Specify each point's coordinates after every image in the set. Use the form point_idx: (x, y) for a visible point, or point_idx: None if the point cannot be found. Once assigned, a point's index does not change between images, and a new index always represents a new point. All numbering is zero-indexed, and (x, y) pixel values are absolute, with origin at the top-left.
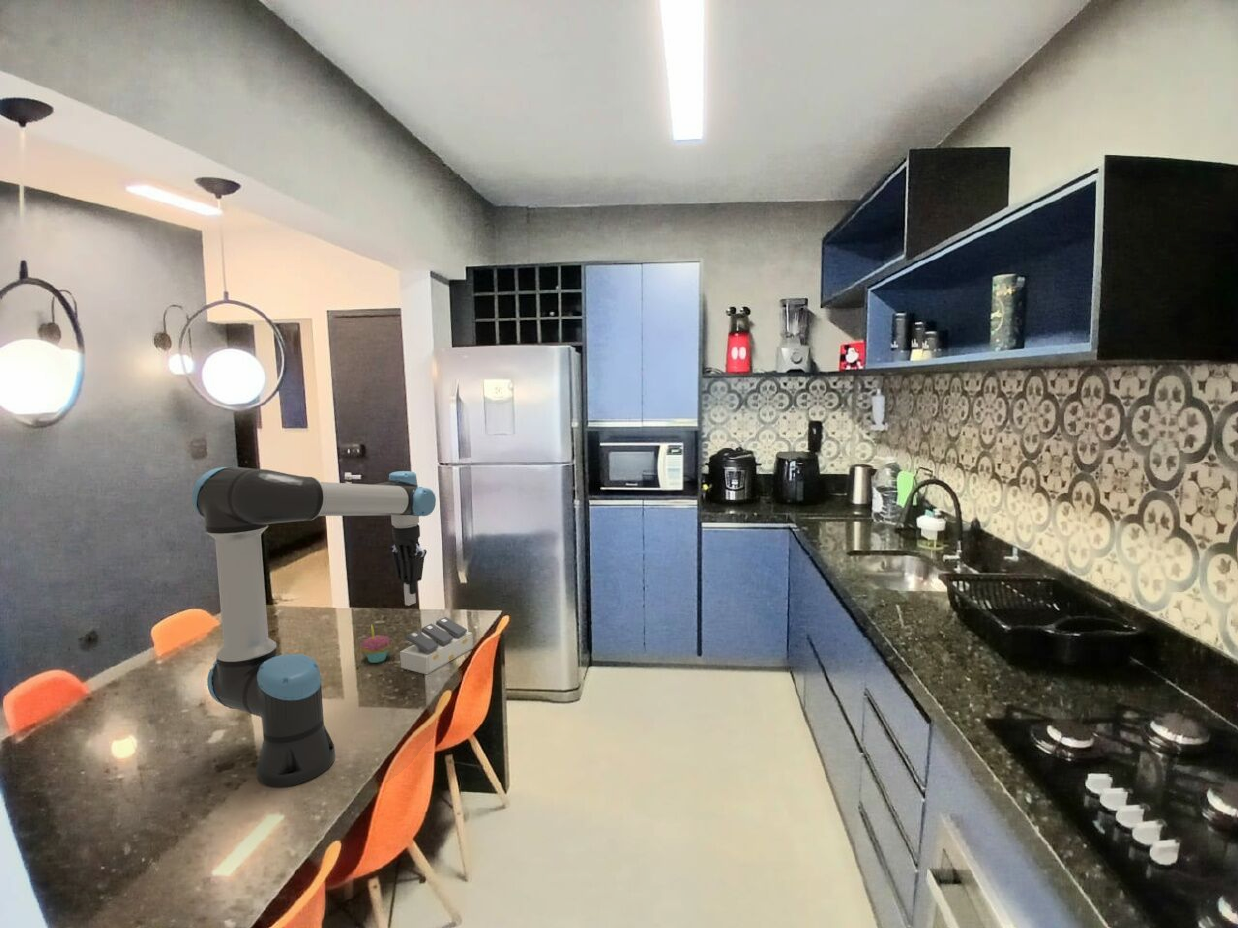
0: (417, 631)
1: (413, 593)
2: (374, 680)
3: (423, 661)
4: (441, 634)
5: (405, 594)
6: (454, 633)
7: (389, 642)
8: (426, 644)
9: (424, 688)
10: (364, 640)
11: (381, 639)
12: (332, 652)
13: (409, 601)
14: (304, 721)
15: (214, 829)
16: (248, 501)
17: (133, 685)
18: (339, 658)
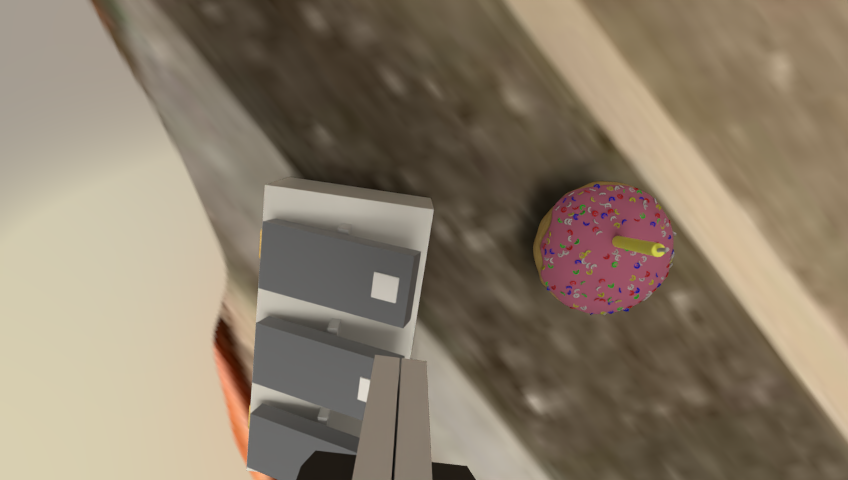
0: (393, 323)
1: (311, 467)
2: (462, 64)
3: (288, 184)
4: (297, 369)
5: (411, 430)
6: (273, 415)
7: (545, 275)
8: (295, 252)
9: (213, 65)
10: (669, 237)
11: (579, 255)
12: (800, 233)
13: (370, 385)
14: None
15: None
16: None
17: None
18: (736, 195)
